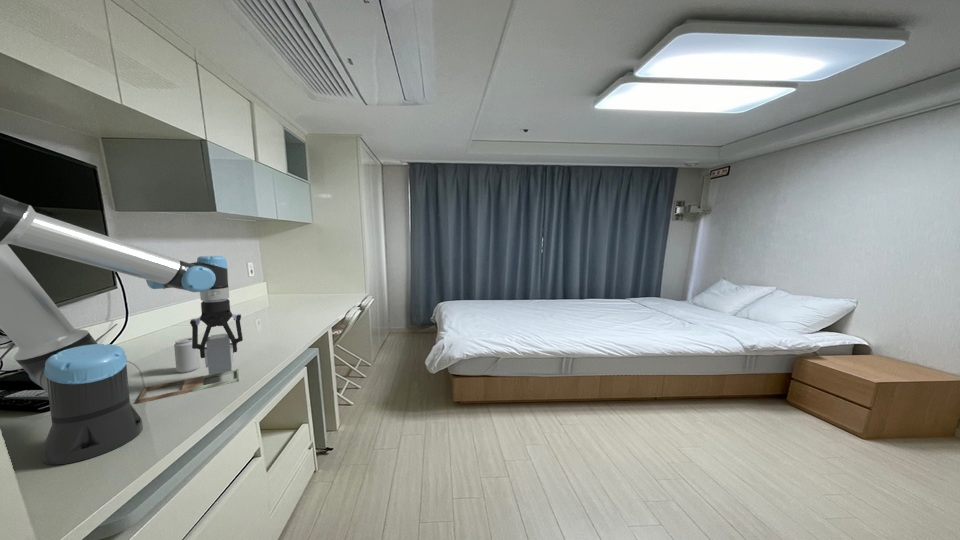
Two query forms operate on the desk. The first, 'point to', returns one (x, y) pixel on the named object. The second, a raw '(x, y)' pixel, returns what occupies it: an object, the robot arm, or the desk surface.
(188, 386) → the rail
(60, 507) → the desk surface
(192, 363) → the beverage can
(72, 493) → the desk surface
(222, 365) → the block
